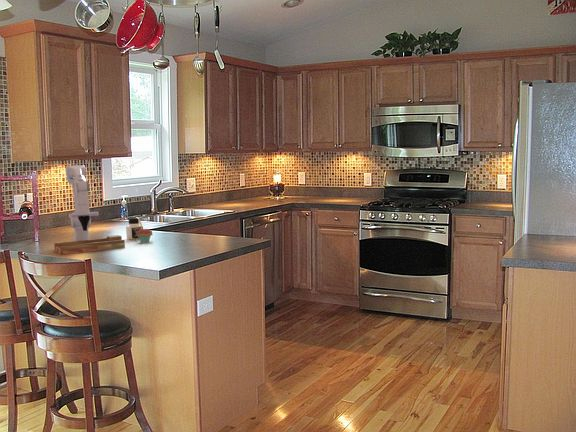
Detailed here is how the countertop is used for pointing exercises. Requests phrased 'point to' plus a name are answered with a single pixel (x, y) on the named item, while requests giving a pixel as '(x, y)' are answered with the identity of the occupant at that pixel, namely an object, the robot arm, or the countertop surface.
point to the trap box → (87, 246)
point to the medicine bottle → (133, 228)
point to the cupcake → (144, 234)
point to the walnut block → (114, 238)
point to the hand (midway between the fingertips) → (84, 230)
